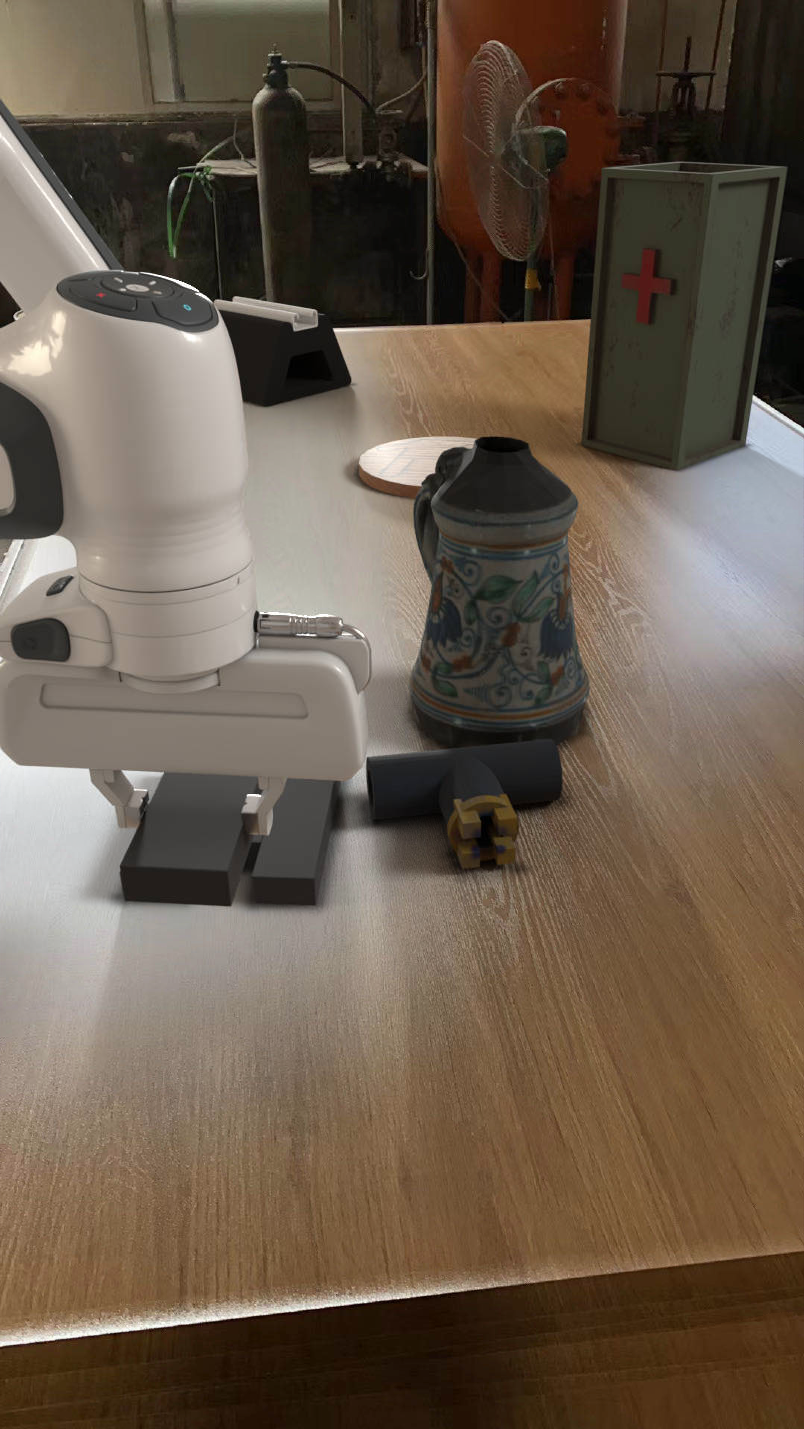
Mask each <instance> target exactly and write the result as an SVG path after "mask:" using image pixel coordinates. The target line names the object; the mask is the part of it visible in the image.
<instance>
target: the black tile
mask: <svg viewBox="0 0 804 1429" xmlns="http://www.w3.org/2000/svg"><path fill="white" fill-rule="evenodd" d="M262 792H263V790H261V789H260V788H259V783H258V777H253V776H232V775H210V774H189V773H168V772H163V774H162V776H161V778H160V780H159V782H158V784H157V786H156V789H155V791H154V793H153V795H152V797H151V799H150V800H149V802H148V804H149V805H148V807H147V809H146V812H145V814H144V816H143V818H142V820H141V822H140V824H139V826H138V828H137V829H135V830H136V831H135V833H134V835H133V837H132V838H131V841H130V843H129V845H128V847H127V850H126V851H125V853H124V855H123V858H122V860H121V862H120V864H119V872H121V879H122V885H123V890H122V893H123V892H124V896H123V899H124V898H125V899H124V901H125V902H133V903H134V902H136V903H151V904H155V903H157V904H172V905H173V904H175V905H189V906H190V905H191V906H192V905H193V906H210V907H212V906H213V907H228V908H230V907H232V906H233V902H234V899H235V896H236V892H237V890H238V886H239V882H241V881H240V880H241V877H242V875H243V871H244V869H245V868H244V865H245V862H246V859H247V855H248V852H249V849H250V846H251V843H252V840H253V837H254V835H252V834H245V833H244V824H243V822H242V816H241V812H242V809H243V806H244V805H245V800H246V797H247V795H261V794H262ZM121 879H120V880H121ZM122 885H121V886H122Z"/></svg>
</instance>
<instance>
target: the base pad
mask: <svg viewBox="0 0 804 1429" xmlns="http://www.w3.org/2000/svg"><path fill="white" fill-rule="evenodd" d="M341 783H342V781H337V780H317V779H296V778H287V780H286V784H285V787H284V791H283V792H282V794H281V795H280V797H279V798H278V800H277V801H276V803H275V804H274V806H273V807H272V808H273V822H272V827H271V830H270V833H269V835H254V837H253V840H252V843H251V846H250V849H249V852H248V855H247V859H246V862H245V865H244V868H243V869H253V870H252V874H251V885H252V895H253V904H259V905H261V904H263V905H264V904H265V905H291V906H293V905H294V906H317V905H318V904H317V903H318V898H319V893H320V890H321V889H320V887H321V885H322V884H321V883H322V877H323V873H324V868H325V863H326V858H327V853H328V848H329V843H330V837H331V833H332V828H333V822H334V817H335V812H336V808H337V803H338V798H339V792H340V787H341ZM119 878H120V884H121V889H122V896H123V900H125V898H124V892H123V885H122V879H121V872H120V871H119Z"/></svg>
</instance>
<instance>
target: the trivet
mask: <svg viewBox="0 0 804 1429" xmlns="http://www.w3.org/2000/svg"><path fill="white" fill-rule="evenodd" d="M476 439H477V438H476V437H475V438H474V437H462V436H422V437H411V438H404V439H397V440H392V441H389V442H385V443H381V444H378V445H375V446H374V447H372V448H370V449H368V450H366V451H365V452H364V453H362V454H361V455H360V457H359V460H358V475H359V477H360V479H361V480H362V482H363V483H365V484H366V485H368V486H369V487H370V488H372V489H375V490H377V491H380V492H382V493H386V494H387V495H393V496H399V497H405V498H410V499H415V498H416V496H417V494H418V492H419V490H420V488H421V487H422V485H421V483H422V482H423V481H424V480H425V478H426V477H427V476H428V475H430V474H433V473H435V467H436V463H437V460H438V458H439V457H440V455H441V453H442V452H443V451H446V450H448V449H451V448H454V447H465V448H470V449H471V448H473V445H474V442H475V440H476Z"/></svg>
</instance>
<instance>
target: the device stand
mask: <svg viewBox="0 0 804 1429" xmlns="http://www.w3.org/2000/svg"><path fill="white" fill-rule="evenodd" d="M213 303H214V304H215V306H216V307H217V309H218V311H219V312H220V314H221V317H222V319H223V321H224V323H225V326H226V328H227V331H228V334H229V337H230V340H231V343H232V346H233V350H234V354H235V359H236V364H237V369H238V374H239V380H240V387H241V394H242V401H245V402H249V403H253V404H257V405H260V406H264V407H270V406H274V405H277V404H282V403H285V402H289V401H293V400H296V399H301V398H305V397H308V396H312V395H316V394H319V393H320V394H321V393H324V392H329V391H332V390H336V389H341V388H344V387H349V386H350V385H351V384H352V380H353V378H352V376H351V373H350V370H349V368H348V364H347V362H346V360H345V357H344V354H343V352H342V349H341V346H340V343H339V341H338V338H337V335H336V333H335V330H334V327H333V324H332V322H331V319H330V317H329V316H328V315H327V314H324V313H318V310H316V309H312V308H308V307H307V308H306V307H301V306H295V305H289V304H284V303H278V302H272V301H265V300H259V299H254V298H249V297H241V296H233V297H232V301H228V300H223V299H215V300H214V301H213Z"/></svg>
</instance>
